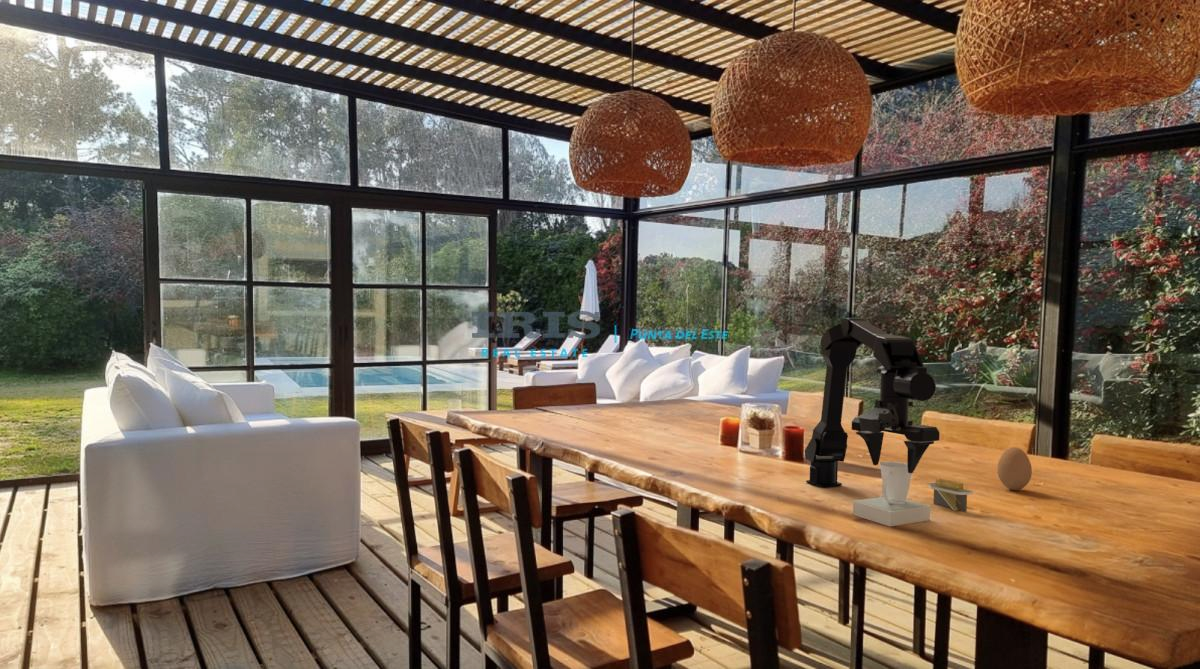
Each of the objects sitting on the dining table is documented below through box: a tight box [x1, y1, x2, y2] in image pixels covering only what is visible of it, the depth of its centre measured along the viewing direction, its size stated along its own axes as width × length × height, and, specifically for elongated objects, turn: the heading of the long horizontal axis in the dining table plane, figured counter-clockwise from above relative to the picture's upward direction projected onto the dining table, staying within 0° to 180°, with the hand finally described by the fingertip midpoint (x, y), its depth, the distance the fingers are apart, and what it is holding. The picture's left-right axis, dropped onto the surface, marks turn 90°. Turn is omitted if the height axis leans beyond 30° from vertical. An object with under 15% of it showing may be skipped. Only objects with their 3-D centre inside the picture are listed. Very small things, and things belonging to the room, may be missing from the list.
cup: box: [879, 461, 913, 504], centre depth 158 cm, size 7×10×8 cm
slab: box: [852, 496, 931, 527], centre depth 159 cm, size 12×10×3 cm
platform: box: [928, 478, 974, 513], centre depth 168 cm, size 12×18×7 cm, turn 33°
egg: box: [996, 446, 1033, 491], centre depth 187 cm, size 8×8×11 cm
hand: (892, 468), depth 158 cm, fingers open, 9 cm apart
